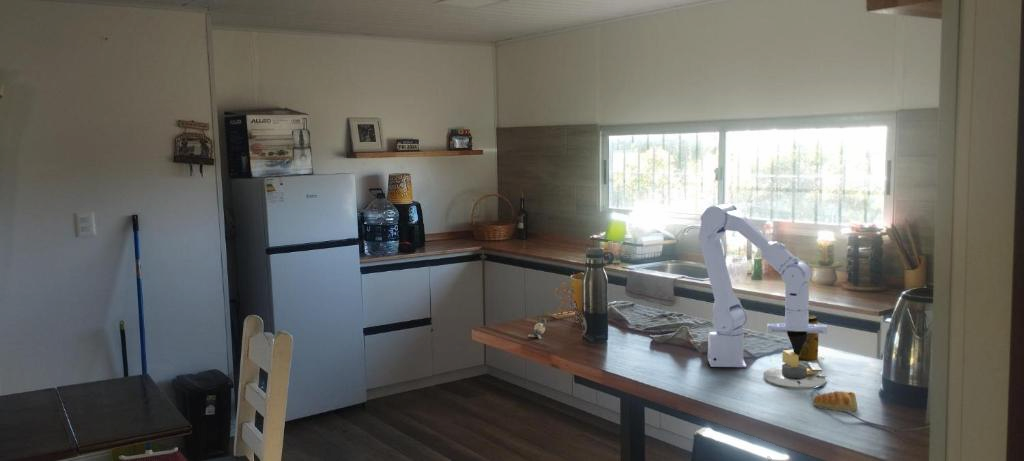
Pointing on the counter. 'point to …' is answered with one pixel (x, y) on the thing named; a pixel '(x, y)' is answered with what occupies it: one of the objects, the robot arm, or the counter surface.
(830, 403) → the pastry
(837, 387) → the counter surface
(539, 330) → the grey cream animal figurine
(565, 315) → the gingerbread man figurine
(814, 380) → the post plate
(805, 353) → the condiment
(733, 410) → the counter surface
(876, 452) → the counter surface
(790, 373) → the multicoloured piece
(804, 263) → the robot arm
